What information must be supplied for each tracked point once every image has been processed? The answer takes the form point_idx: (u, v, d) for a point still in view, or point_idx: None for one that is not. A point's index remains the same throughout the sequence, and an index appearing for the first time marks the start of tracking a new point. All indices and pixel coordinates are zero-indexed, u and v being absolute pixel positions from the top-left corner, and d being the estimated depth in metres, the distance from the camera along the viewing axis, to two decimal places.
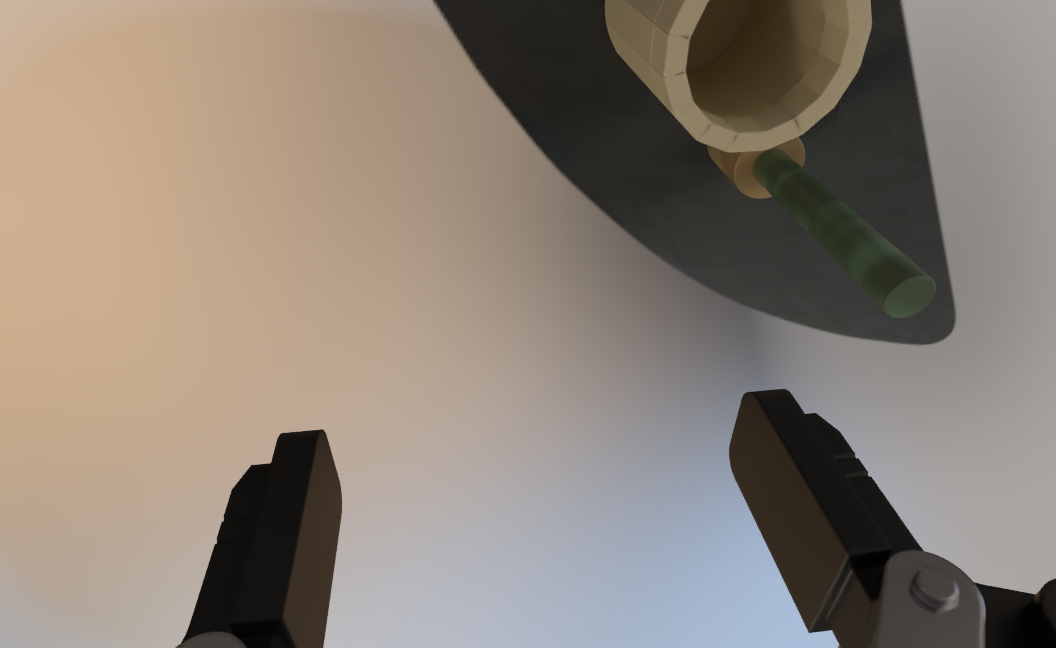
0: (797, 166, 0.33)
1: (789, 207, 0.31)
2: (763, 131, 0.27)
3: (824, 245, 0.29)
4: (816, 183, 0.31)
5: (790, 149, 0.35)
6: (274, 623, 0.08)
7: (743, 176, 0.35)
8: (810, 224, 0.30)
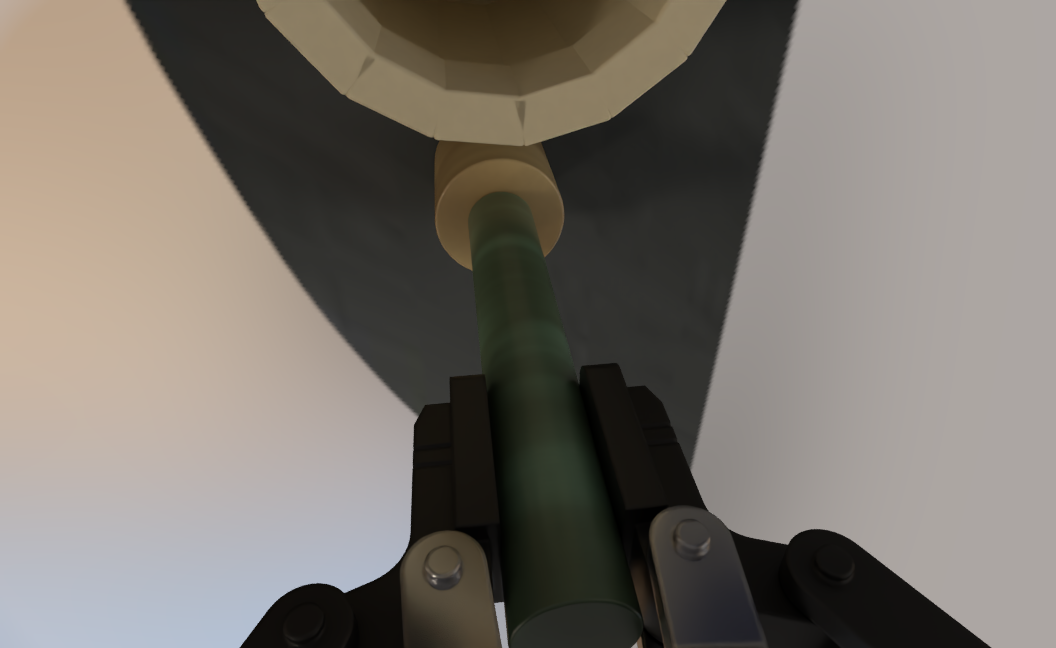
0: (530, 236, 0.17)
1: (477, 299, 0.16)
2: (441, 88, 0.11)
3: None
4: (540, 278, 0.15)
5: (541, 210, 0.19)
6: (490, 528, 0.10)
7: (450, 217, 0.19)
8: (486, 348, 0.14)
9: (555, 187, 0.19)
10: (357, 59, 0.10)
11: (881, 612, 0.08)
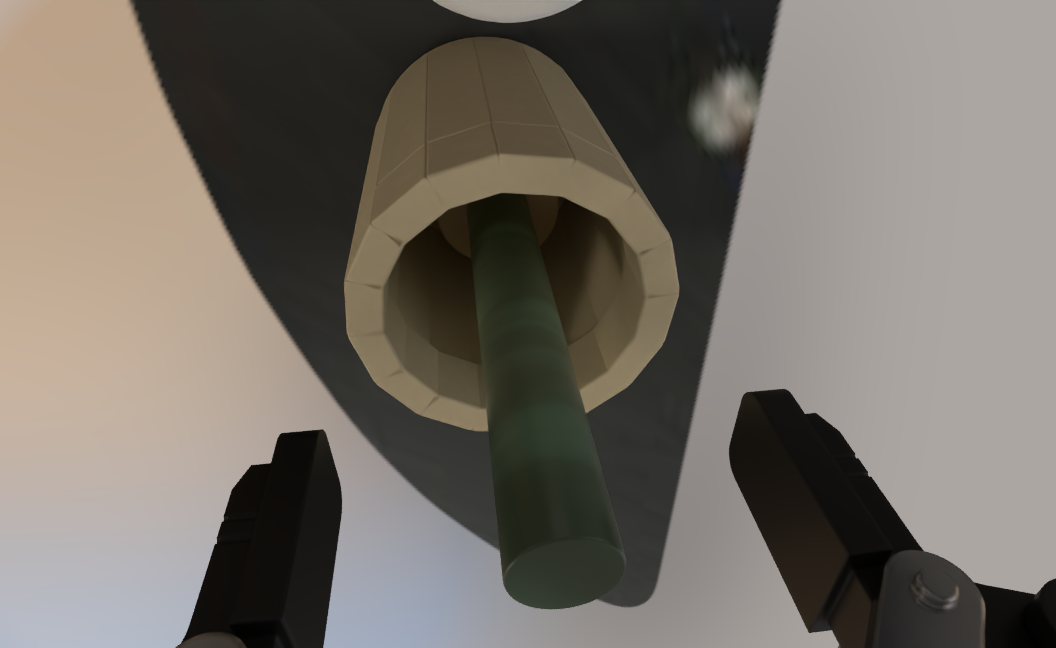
0: (525, 223, 0.18)
1: (475, 281, 0.17)
2: (477, 407, 0.17)
3: (483, 374, 0.14)
4: (535, 261, 0.16)
5: (537, 200, 0.20)
6: (274, 623, 0.08)
7: None
8: (483, 324, 0.15)
9: None
10: (428, 399, 0.17)
11: None
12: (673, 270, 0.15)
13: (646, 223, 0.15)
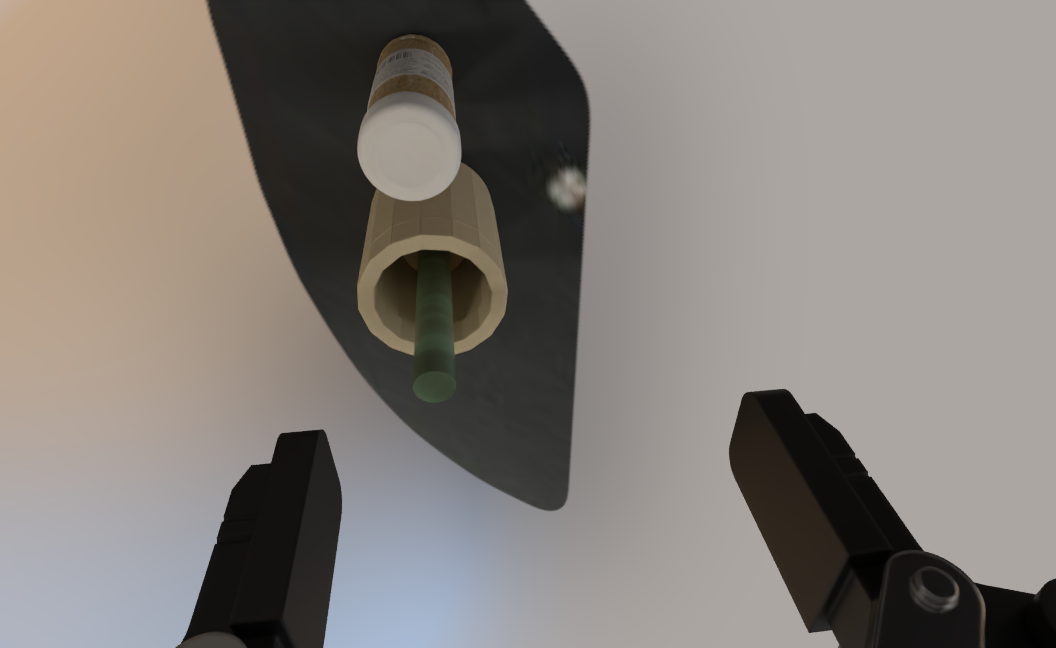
0: (443, 257, 0.38)
1: (417, 285, 0.36)
2: None
3: (415, 324, 0.33)
4: (443, 276, 0.36)
5: None
6: (274, 623, 0.08)
7: None
8: (417, 304, 0.34)
9: None
10: (395, 340, 0.37)
11: None
12: (502, 281, 0.35)
13: (486, 261, 0.34)
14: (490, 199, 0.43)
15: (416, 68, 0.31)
